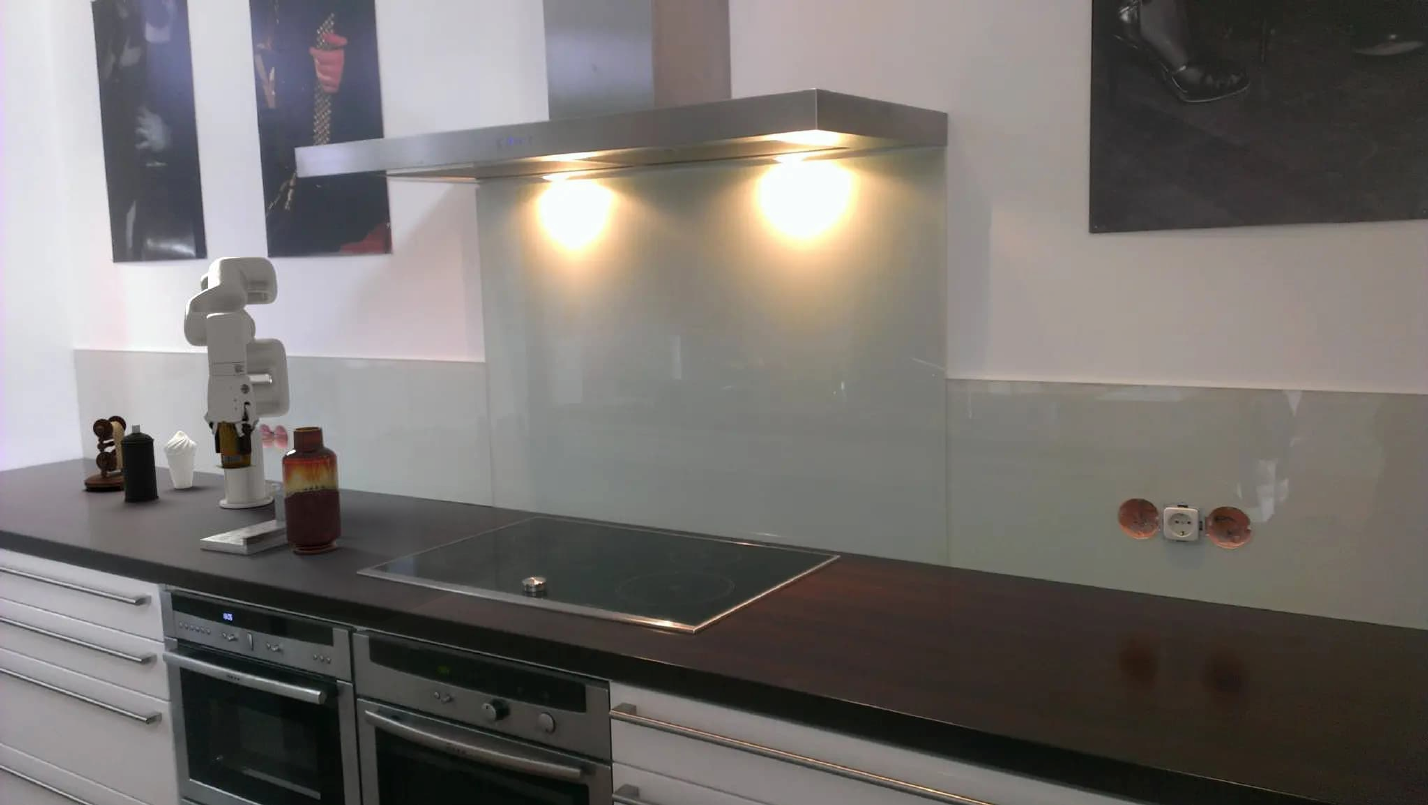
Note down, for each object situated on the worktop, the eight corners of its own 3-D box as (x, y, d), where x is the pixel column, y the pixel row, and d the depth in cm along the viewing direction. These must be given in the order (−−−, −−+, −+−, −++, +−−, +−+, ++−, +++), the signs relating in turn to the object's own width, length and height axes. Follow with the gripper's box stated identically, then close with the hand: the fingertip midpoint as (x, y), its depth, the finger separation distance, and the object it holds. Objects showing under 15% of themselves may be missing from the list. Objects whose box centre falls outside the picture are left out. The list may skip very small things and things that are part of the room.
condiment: (248, 462, 242) (244, 409, 241) (260, 466, 236) (257, 411, 235) (213, 466, 238) (209, 412, 236) (225, 471, 231) (221, 415, 230)
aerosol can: (165, 498, 291) (159, 423, 289) (135, 503, 284) (129, 427, 282) (147, 495, 296) (142, 422, 293) (117, 500, 289) (111, 425, 287)
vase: (275, 553, 230) (267, 431, 227) (312, 541, 240) (305, 424, 237) (317, 557, 226) (309, 433, 223) (353, 545, 236) (346, 425, 233)
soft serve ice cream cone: (190, 490, 302) (186, 432, 300) (160, 490, 302) (156, 433, 300) (204, 484, 310) (200, 428, 308) (175, 484, 310) (171, 428, 308)
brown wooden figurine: (126, 492, 301) (120, 420, 298) (73, 492, 301) (67, 421, 298) (154, 481, 315) (149, 413, 313) (103, 482, 315) (97, 414, 313)
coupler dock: (280, 526, 255) (278, 493, 254) (325, 531, 249) (323, 497, 248) (200, 548, 235) (197, 512, 234) (247, 554, 229) (244, 517, 228)
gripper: (271, 369, 234) (276, 452, 236) (214, 368, 242) (220, 448, 244) (242, 372, 228) (248, 457, 230) (185, 371, 235) (191, 453, 237)
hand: (233, 452), depth 237 cm, fingers closed on condiment, 6 cm apart
